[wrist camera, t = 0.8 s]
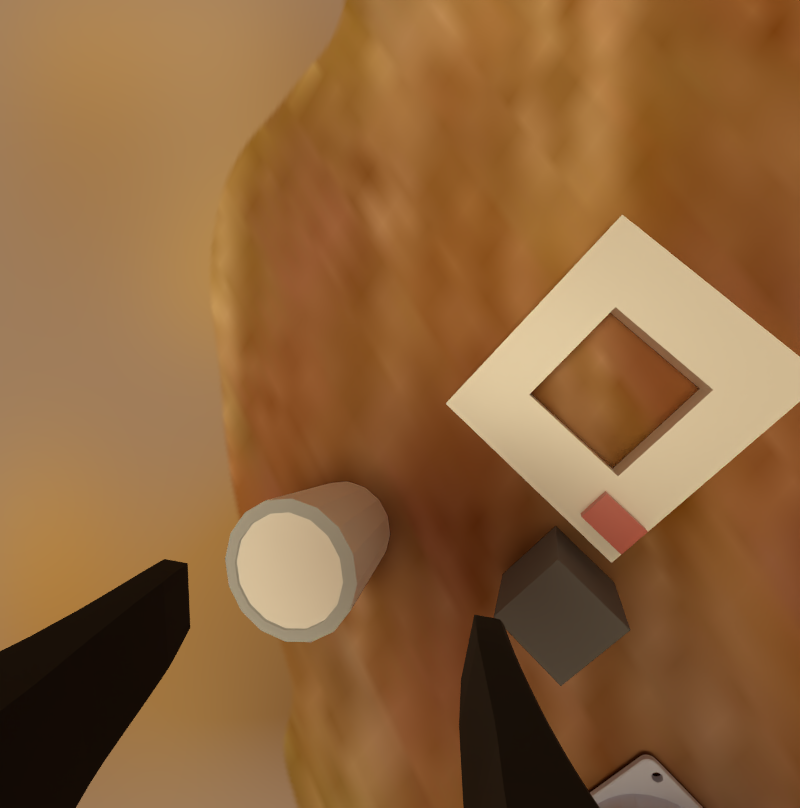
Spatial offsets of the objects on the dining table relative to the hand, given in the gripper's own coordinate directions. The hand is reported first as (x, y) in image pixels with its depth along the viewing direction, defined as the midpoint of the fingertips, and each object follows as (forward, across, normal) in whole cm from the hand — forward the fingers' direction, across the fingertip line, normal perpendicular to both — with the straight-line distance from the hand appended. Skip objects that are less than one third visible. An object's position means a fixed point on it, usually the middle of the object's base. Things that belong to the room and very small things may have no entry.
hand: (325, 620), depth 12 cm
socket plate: (+16, -10, -3) cm, 19 cm away
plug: (+13, -10, +7) cm, 18 cm away
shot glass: (+16, +2, +8) cm, 18 cm away
